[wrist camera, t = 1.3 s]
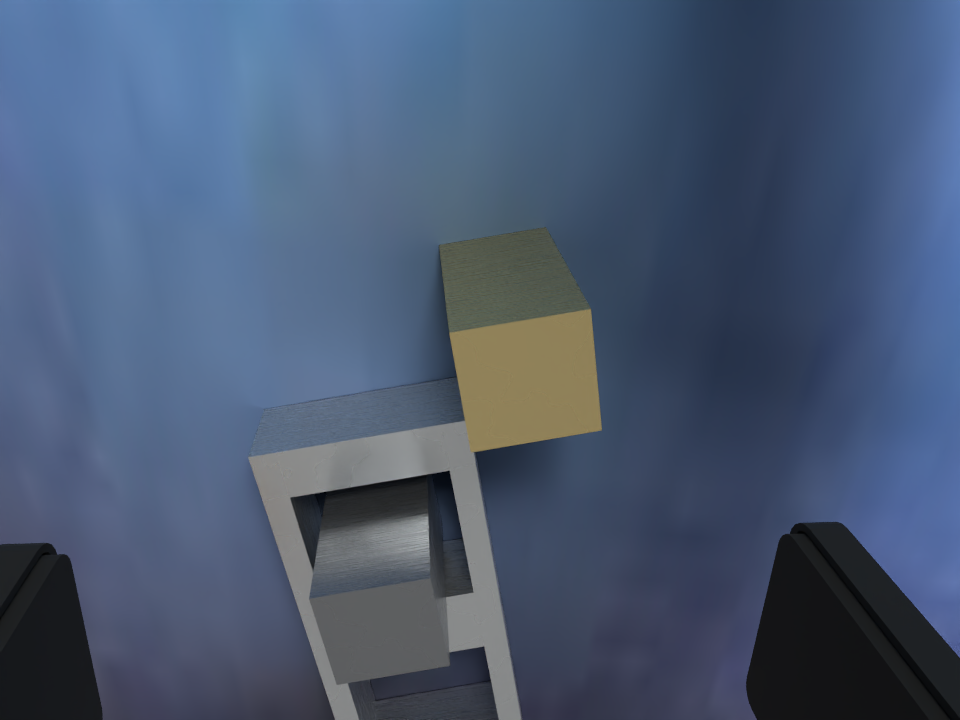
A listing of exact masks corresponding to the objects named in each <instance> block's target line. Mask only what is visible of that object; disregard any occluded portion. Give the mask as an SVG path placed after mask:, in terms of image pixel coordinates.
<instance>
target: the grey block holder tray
mask: <svg viewBox="0 0 960 720" xmlns="http://www.w3.org/2000/svg"><path fill="white" fill-rule="evenodd" d="M248 458H249V461H250V464H251V467H252V470H253V473H254V476H255V479H256V482H257V485H258V488H259V491H260V494H261V497H262V500H263V503H264V506H265V509H266V512H267V515H268V518H269V521H270V524H271V527H272V531H273V534H274V537H275V540H276V543H277V546H278V549H279V552H280V555H281V558H282V561H283V564H284V567H285V570H286V573H287V576H288V579H289V582H290V585H291V588H292V591H293V594H294V597H295V600H296V603H297V606H298V609H299V612H300V615H301V618H302V621H303V624H304V627H305V630H306V633H307V636H308V639H309V642H310V645H311V648H312V651H313V654H314V657H315V660H316V663H317V666H318V669H319V672H320V675H321V678H322V681H323V684H324V687H325V690H326V693H327V696H328V699H329V702H330V705H331V708H332V711H333V715H334V718H335V720H523V719H522V712H521V705H520V700H519V694H518V688H517V683H516V677H515V672H514V666H513V660H512V655H511V649H510V643H509V638H508V632H507V626H506V621H505V615H504V609H503V604H502V598H501V592H500V587H499V581H498V575H497V570H496V564H495V559H494V553H493V547H492V542H491V536H490V530H489V525H488V519H487V513H486V508H485V502H484V496H483V491H482V485H481V479H480V474H479V468H478V462H477V457H476V452H471V451H470V445H469V440H468V434H467V428H466V423H465V417H464V412H463V406H462V401H461V395H460V390H459V384H458V379H457V377H454V378H448V379H442V380H436V381H430V382H424V383H418V384H412V385H406V386H400V387H394V388H388V389H383V390H377V391H371V392H365V393H359V394H353V395H347V396H341V397H335V398H329V399H323V400H317V401H311V402H305V403H299V404H293V405H287V406H281V407H276V408H270V409H264V412H263V415H262V418H261V421H260V424H259V427H258V430H257V433H256V436H255V439H254V442H253V445H252V448H251V451H250V454H249V457H248ZM444 471H450V475H451V480H452V485H453V490H454V495H455V500H456V505H457V510H458V515H459V520H460V526H461V531H462V536H463V538H462V539H456V540H450V541H444V542H443V550H444V567H445V585H446V602H447V619H448V637H449V652H454V651H460V650H466V649H472V648H477V647H483V646H484V647H485V652H486V658H487V663H488V668H489V673H490V678H491V681H488V682H483V683H477V684H471V685H465V686H459V687H453V688H448V689H442V690H436V691H430V692H424V693H418V694H413V695H407V696H401V697H395V698H389V699H383V700H378V701H376V700H375V696H374V693H373V689H372V686H371V683H370V679H369V680H363V681H358V682H352V683H346V684H340V685H337V684H336V681H335V678H334V675H333V672H332V669H331V666H330V663H329V660H328V656H327V653H326V650H325V647H324V644H323V641H322V638H321V635H320V632H319V628H318V625H317V622H316V619H315V616H314V613H313V610H312V607H311V604H310V600H309V595H310V589H311V583H312V577H313V571H314V565H315V559H316V553H317V546H318V540H319V534H320V528H321V522H322V516H321V512H320V509H319V505H318V502H317V499H316V495H315V493H320V492H326V491H332V490H338V489H344V488H350V487H356V486H362V485H368V484H374V483H379V482H385V481H391V480H397V479H403V478H409V477H415V476H421V475H427V474H433V473H439V472H444Z"/></svg>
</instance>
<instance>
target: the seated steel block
mask: <svg viewBox="0 0 960 720" xmlns="http://www.w3.org/2000/svg"><path fill="white" fill-rule="evenodd" d="M309 600H310V604H311V607H312V610H313V613H314V616H315V619H316V622H317V625H318V628H319V632H320V635H321V638H322V641H323V644H324V647H325V650H326V653H327V656H328V660H329V663H330V666H331V669H332V672H333V675H334V678H335V681H336V684H337V685H340V684H346V683H352V682H358V681H363V680H369V679H375V678H381V677H387V676H393V675H399V674H405V673H411V672H416V671H422V670H428V669H434V668H440V667H446V666H450V654H449V637H448V619H447V602H446V585H445V567H444V550H443V532H442V521H441V516H440V511H439V506H438V502H437V497H436V492H435V487H434V483H433V478H432V474H427V475H421V476H415V477H409V478H403V479H397V480H391V481H385V482H379V483H374V484H368V485H362V486H356V487H350V488H344V489H338V490H332V491H326V497H325V503H324V510H323V516H322V522H321V528H320V534H319V540H318V546H317V553H316V559H315V565H314V571H313V577H312V583H311V589H310V595H309Z"/></svg>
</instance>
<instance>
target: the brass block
mask: <svg viewBox="0 0 960 720" xmlns="http://www.w3.org/2000/svg"><path fill="white" fill-rule="evenodd" d="M439 249H440V258H441V266H442V275H443V284H444V292H445V301H446V309H447V318H448V327H449V334H450V340H451V345H452V351H453V357H454V362H455V368H456V373H457V379H458V384H459V390H460V395H461V401H462V406H463V412H464V417H465V423H466V428H467V434H468V440H469V445H470V451H471V452H477V451H483V450H489V449H495V448H501V447H507V446H513V445H519V444H524V443H530V442H536V441H542V440H548V439H554V438H560V437H566V436H572V435H577V434H583V433H589V432H595V431H601V430H602V426H601V415H600V404H599V393H598V382H597V371H596V360H595V349H594V338H593V327H592V316H591V308H590V307H589V305H588V303H587V301H586V299H585V297H584V296H583V294H582V292H581V290H580V288H579V287H578V285H577V283H576V281H575V279H574V277H573V276H572V274H571V272H570V270H569V268H568V267H567V265H566V263H565V261H564V259H563V258H562V256H561V254H560V252H559V250H558V248H557V247H556V245H555V243H554V241H553V239H552V238H551V236H550V234H549V232H548V230H547V228H546V227H544V228H538V229H532V230H526V231H520V232H514V233H508V234H502V235H496V236H490V237H484V238H478V239H473V240H467V241H461V242H455V243H449V244H443V245H439Z"/></svg>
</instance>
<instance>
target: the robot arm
mask: <svg viewBox="0 0 960 720" xmlns="http://www.w3.org/2000/svg"><path fill="white" fill-rule="evenodd" d="M746 690H747V696H748V700H749V704H750V706H751V708H752V711H753V713H754V714H755V716H756V718H757V720H960V658H959V657H958V655H957V654H956V653H955V652H954V651H953V650H952V649H951V647H950V646H949V645H948V644H947V643H946V642H945V640H944V639H943V638H942V637H941V636H940V635H939V634H938V632H937V631H936V630H935V629H934V628H933V627H932V626H931V624H930V623H929V622H928V621H927V620H926V619H925V617H924V616H923V615H922V614H921V613H920V612H919V611H918V609H917V608H916V607H915V606H914V605H913V604H912V602H911V601H910V600H909V599H908V598H907V597H906V596H905V594H904V593H903V592H902V591H901V590H900V589H899V587H898V586H897V585H896V584H895V583H894V582H893V581H892V579H891V578H890V577H889V576H888V575H887V574H886V572H885V571H884V570H883V569H882V568H881V567H880V566H879V564H878V563H877V562H876V561H875V560H874V559H873V557H872V556H871V555H870V554H869V553H868V552H867V551H866V549H865V548H864V547H863V546H862V545H861V544H860V542H859V541H858V540H857V539H856V538H855V537H854V536H853V534H852V533H851V532H850V531H849V530H848V529H847V528H846V527H845V526H844V525H843V524H842V523H838V522H816V523H798V524H795V525H794V527H793V528H792V529H791V532H790V534H785V535H783V536H782V537H781V538H780V541H779V543H778V548H777V552H776V556H775V560H774V565H773V569H772V573H771V577H770V582H769V586H768V590H767V594H766V599H765V603H764V607H763V611H762V616H761V620H760V624H759V628H758V633H757V637H756V641H755V645H754V649H753V654H752V658H751V662H750V666H749V671H748V675H747V681H746ZM0 720H102V707H101V702H100V697H99V693H98V688H97V683H96V678H95V674H94V669H93V664H92V659H91V655H90V650H89V645H88V640H87V636H86V631H85V626H84V621H83V617H82V612H81V607H80V602H79V598H78V593H77V588H76V583H75V579H74V574H73V569H72V564H71V561H70V559H69V557H68V556H67V555H64V554H59V555H57V553H56V550H55V548H54V547H53V546H52V544H49V543H30V544H2V545H0Z"/></svg>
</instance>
